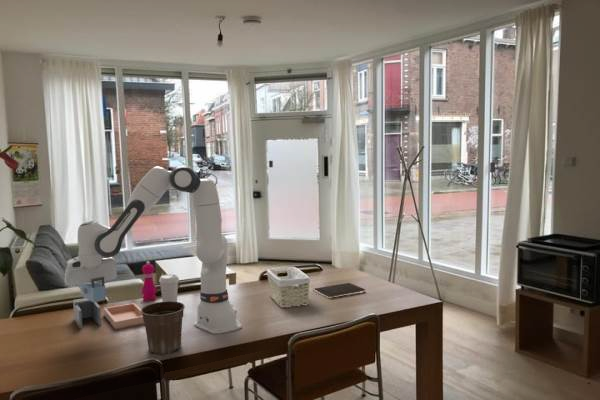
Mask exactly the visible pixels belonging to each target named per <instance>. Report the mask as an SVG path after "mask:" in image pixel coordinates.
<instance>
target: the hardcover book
mask: <svg viewBox="0 0 600 400" xmlns="http://www.w3.org/2000/svg"><path fill="white" fill-rule="evenodd" d="M314 289H315V290H317V291H318V292H320V293H322V294H324V295H326V296H328V297H334V296H339V295H344V294H349V293H355V292H360V291H364V290H365V291H367V290H366V288H362V287H360V286H358V285H356V284H354V283H351V282H346V283H339V284H333V285H327V286H322V287H316V288H313V290H314Z"/></svg>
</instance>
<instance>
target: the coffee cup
mask: <svg viewBox="0 0 600 400" xmlns="http://www.w3.org/2000/svg"><path fill="white" fill-rule="evenodd" d="M179 281H180V278H179V276H178V274H175V273H171V274H170V273H169V274H163V275H161V276H160V278H159V280H158V282H159V284H160V290H161V291H160V292H161V302H166V301H175V302H178V290H179V289H178V287H179Z"/></svg>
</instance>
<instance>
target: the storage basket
mask: <svg viewBox="0 0 600 400" xmlns="http://www.w3.org/2000/svg"><path fill="white" fill-rule="evenodd" d="M284 273H287V275H286V276H278V274H284ZM266 275H267V280H268V292H269V296H270V297H271V299H272V300H273V301H274V302H275V303H276V304H277V306H279V307H280V308H281V307H282V308H281V309H284V308H283V307H287V308H288V307H289V308H292V307H291V306H298V307H300V306H299V305H305V304H308V305H309V296H310V295H309V294H310V283H311V280H310V276H308V275H307V274H306V273H305V272H303V271H302V270H301V269H299V268H298V267H295V266H289V267H288V266H287V267H274V268H268V269H266ZM305 306H306V305H305Z"/></svg>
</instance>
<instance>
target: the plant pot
mask: <svg viewBox="0 0 600 400" xmlns="http://www.w3.org/2000/svg"><path fill="white" fill-rule="evenodd" d="M185 308H186V306H185V304H184V303H182V302H180V301H177V302H175V301H166V302H162V301H158V302H153V303H150V304H147V305H144V306H143V307H142V308H140V309H141V313H142V315H143V321H144V322H145V324H144V328H145V332H146V333H145V335H146V341H147V349H148V351H149V353H154V354H155V355H165V354H171V353H173V352H175V351H176V350H179V349H180V348H181V346H182V332H183V331H182V329H183V317H184V310H185Z"/></svg>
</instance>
